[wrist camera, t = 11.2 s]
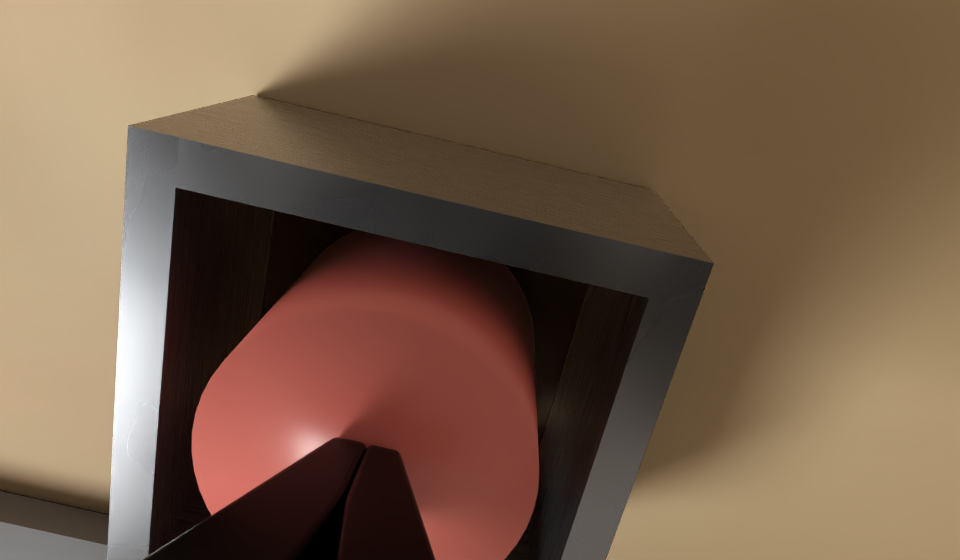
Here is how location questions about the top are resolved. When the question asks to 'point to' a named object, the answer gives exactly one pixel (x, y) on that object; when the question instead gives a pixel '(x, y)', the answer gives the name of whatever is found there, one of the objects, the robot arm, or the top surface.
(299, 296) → the button
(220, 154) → the button housing
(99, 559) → the drawing board
